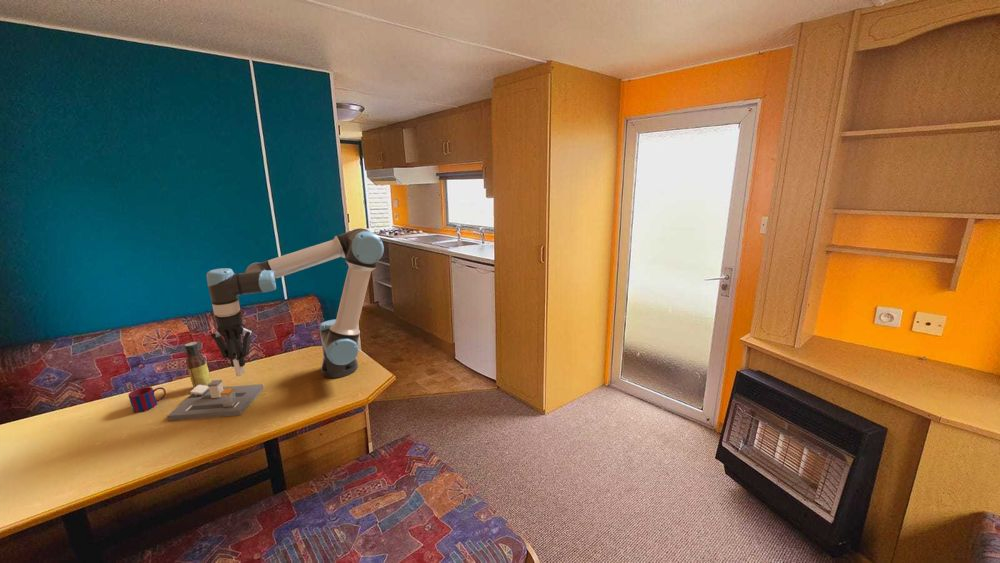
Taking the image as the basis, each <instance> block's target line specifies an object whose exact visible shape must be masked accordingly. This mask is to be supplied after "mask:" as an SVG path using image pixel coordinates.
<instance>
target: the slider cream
mask: <svg viewBox="0 0 1000 563" xmlns="http://www.w3.org/2000/svg"><path fill="white" fill-rule="evenodd" d="M222 382H223V379H214V380H213V379H212V381H211V382H210V383H209V384H208V387H209V390H210V394H211V398H220V397H221V395H220V393H221V392H222V391H223V387H224V386H223V383H222Z"/></svg>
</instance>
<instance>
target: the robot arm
mask: <svg viewBox="0 0 1000 563" xmlns="http://www.w3.org/2000/svg"><path fill="white" fill-rule="evenodd" d="M384 246H385V245H384V243H383V240H382V239H381V238H380V236H379V235H378V234H376V233H375V232H372V231H370V230H369V229H366V228H363V227H362V228H361V227H359V228H354V229H352V230H349V231H346V232H344V233H341V234H339V235H335V236H334V238H333V239H330V240H328V241H325V242H320V243H319V244H315V245H312V246H308V247H305V248H302V249H299V250H297V251H294V252H290V253H286V254H283V255H281V256H278V257H275V258H271V259H269V260H265V261H262V262H253V263H251V264H249V265H248V266H247V267H246V269H245V270H244V272H240V273H235V272H234V271H233V269H232V268H227V267H225V268H222V267H221V268H216V269H215V268H214V269H211V270H209V271H207V273H206V275H205V276H206V281H207V287H208V291H209V293H208V294H209V296H210V299H211V300H210V301H211V305H212V309H213V310H212V311H213V315H215V316H214V319H215V325H216V326H217V328H216V331H214V332H212V333H210V337H211V338H212V339H213V341H214V342H215V344H216V345H217V347H218V349H219V351H220V353H221V355H222V357H223V358H224V359H229V360H230V364H231V367H232V368H234V372H235V377H241V376H242V375H244V374H245V368H244V366H245V365H246V362H245V358H246V357H247V356H248V355H249V354H250V350H251V349H250V347H251V337H252V334H253V332H254V330H252V329H247V328H246V327H245V325H244V322H243V321H244V320H243V317H242V316H243V315H242V311H241V307H240V301H239V296H244V295H250V294H251V295H252V294H260V293H268V292H272V291H275V290H277V284H276V279H279V278H282V277H285V276H288V275H291V274H293V273H297V272H299V271H302V270H306V269H309V268H311V267H314V266H317V265H320V264H324V263H326V262H327V263H328V262H329V261H332V260H335V259H338V258H343V259H345V263H346V264H347V265H348V266H347V267H348V269H347V271H346V272H347V273H346V277H345V281H344V284H343V289H342V294H341V297H340V301H339V307H338V309H337V310H338V311H337V313H336V314H337V315H336V319H335V318H334V319H330V320H329V319H328V320H326V321H323V322H321V323H320V324H319V333H320V334H319V335H320V339H321V340H320V342H321V348H322V353H323V354H322V355H323V357H322V362H321V366H320V371H321V375H322V376H323V377H326V378H329V379H331V378H332V379H334V378H335V379H336V378H342V377H346V376H349V375H351V374H353V373H354V372H356V371H357V370H358V368H359V363H358V359H357V358H358V355H359V352H360V351H359V350H360V349H359V345H358V342H359V338H360V334H361V331H360V329H359V327H358V326H359V322H360V319H361V318H360V317H361V314H362V310H363V306H364V302H365V298H366V294H367V291H368V290H367V289H368V286H369V282H370V277H371V274H372V271H374V270H375V269H377V266H378V262H379V260H380V259H381V258H382V257H383V255H384V251H385V247H384ZM242 335H243V341H242ZM355 370H356V371H355Z"/></svg>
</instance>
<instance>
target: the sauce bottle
mask: <svg viewBox="0 0 1000 563" xmlns="http://www.w3.org/2000/svg"><path fill="white" fill-rule="evenodd" d="M184 349H185V351H186V356H187V357H186V360H185V364H186V366H187V368H186V369H187V372H188V374H189V377H190V381H191V385H192V387H193V389H194V388H195V387H196V386H197V385H205V386H208V384H209V383H210V382H211V381H213V379H212V377H211V373H210V371H209V367H208V362H207V360H206V358H205V357H204V355H203V354H202V353H201V352H200V349H199V345H198V342H197V341H191V342H188V343H185V344H184Z"/></svg>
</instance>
